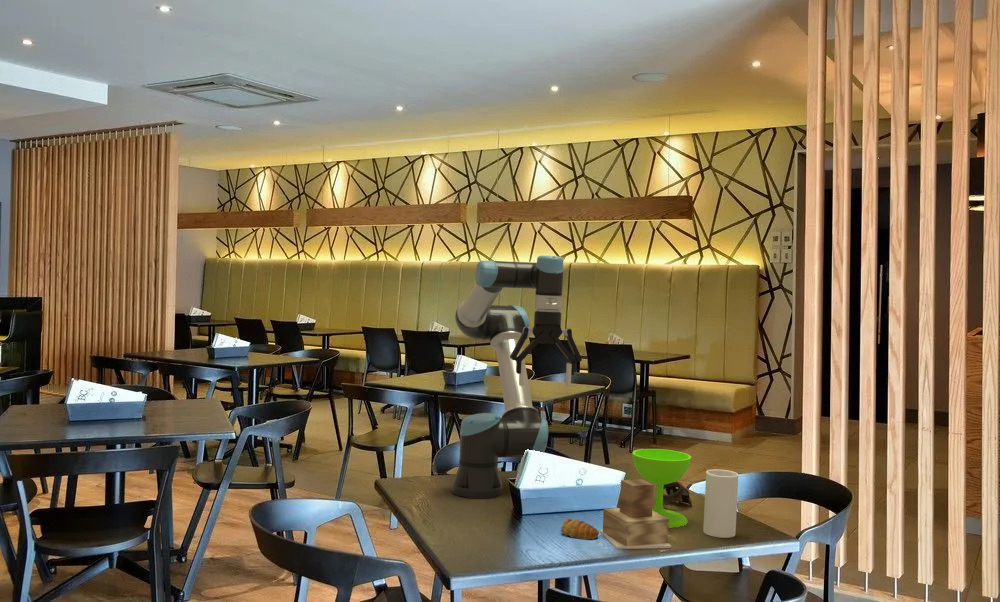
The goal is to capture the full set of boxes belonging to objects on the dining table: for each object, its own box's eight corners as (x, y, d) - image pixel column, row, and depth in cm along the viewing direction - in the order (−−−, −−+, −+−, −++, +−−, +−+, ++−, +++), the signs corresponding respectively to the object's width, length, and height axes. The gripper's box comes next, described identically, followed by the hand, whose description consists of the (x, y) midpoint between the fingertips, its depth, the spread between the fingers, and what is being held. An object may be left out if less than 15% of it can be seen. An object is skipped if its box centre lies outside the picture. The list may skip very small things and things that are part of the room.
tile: (616, 548, 215) (616, 546, 215) (600, 531, 229) (600, 529, 229) (671, 548, 217) (671, 545, 217) (651, 531, 231) (651, 529, 231)
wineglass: (617, 514, 246) (620, 450, 246) (663, 509, 254) (666, 447, 253) (653, 530, 232) (656, 462, 232) (700, 524, 240) (703, 458, 239)
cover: (624, 546, 215) (627, 489, 215) (602, 531, 227) (605, 477, 226) (667, 542, 219) (670, 487, 219) (643, 529, 231) (646, 476, 230)
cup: (737, 531, 235) (740, 471, 234) (733, 539, 227) (736, 477, 226) (705, 526, 238) (708, 468, 237) (700, 534, 230) (703, 473, 230)
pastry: (603, 536, 225) (603, 521, 225) (591, 543, 220) (592, 527, 220) (570, 529, 230) (570, 515, 230) (558, 536, 224) (558, 521, 224)
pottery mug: (698, 511, 256) (690, 488, 253) (669, 524, 255) (660, 502, 253) (684, 491, 267) (675, 469, 264) (655, 503, 267) (647, 481, 264)
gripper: (506, 309, 242) (503, 386, 242) (594, 312, 246) (591, 388, 247) (502, 308, 249) (498, 383, 250) (587, 311, 254) (583, 385, 254)
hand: (544, 386), depth 248 cm, fingers open, 13 cm apart
